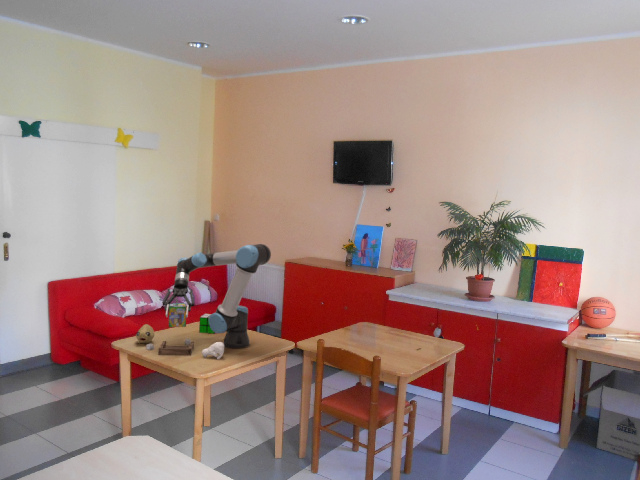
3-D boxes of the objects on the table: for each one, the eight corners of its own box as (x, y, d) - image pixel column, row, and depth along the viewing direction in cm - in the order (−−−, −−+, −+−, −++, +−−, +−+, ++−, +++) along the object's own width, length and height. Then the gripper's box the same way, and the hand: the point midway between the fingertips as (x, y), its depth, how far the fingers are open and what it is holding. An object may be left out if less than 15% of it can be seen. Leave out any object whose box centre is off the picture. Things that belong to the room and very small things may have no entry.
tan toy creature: (133, 346, 296) (133, 327, 295) (138, 340, 308) (138, 322, 307) (151, 346, 297) (151, 328, 296) (155, 340, 309) (156, 322, 308)
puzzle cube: (219, 330, 340) (219, 314, 339) (214, 334, 330) (215, 318, 329) (204, 328, 341) (204, 313, 340) (199, 332, 331) (199, 317, 330)
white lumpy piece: (222, 343, 280) (200, 344, 280) (223, 359, 281) (201, 360, 281) (224, 340, 286) (202, 341, 286) (225, 355, 287) (203, 356, 287)
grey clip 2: (190, 343, 307) (190, 339, 307) (190, 344, 304) (190, 340, 304) (185, 343, 307) (185, 339, 307) (184, 344, 304) (185, 340, 304)
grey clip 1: (150, 348, 295) (151, 343, 294) (154, 349, 293) (154, 344, 293) (146, 349, 292) (146, 344, 292) (149, 350, 290) (149, 345, 290)
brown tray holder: (163, 346, 298) (163, 341, 298) (193, 347, 300) (194, 341, 300) (158, 354, 283) (158, 348, 283) (190, 355, 285) (190, 349, 285)
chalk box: (185, 327, 287) (186, 300, 286) (168, 327, 285) (169, 300, 284) (185, 323, 296) (186, 297, 295) (168, 323, 294) (169, 297, 293)
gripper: (202, 286, 306) (198, 320, 291) (161, 285, 303) (156, 319, 288) (201, 279, 300) (197, 312, 286) (160, 277, 297) (154, 311, 283)
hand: (176, 316), depth 287 cm, fingers closed on chalk box, 10 cm apart
